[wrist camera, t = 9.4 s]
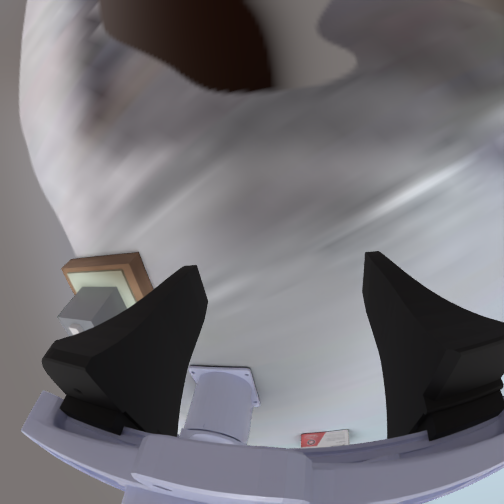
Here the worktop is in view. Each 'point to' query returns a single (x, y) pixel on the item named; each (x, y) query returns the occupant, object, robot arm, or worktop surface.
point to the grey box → (91, 308)
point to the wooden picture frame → (110, 275)
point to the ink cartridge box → (325, 439)
